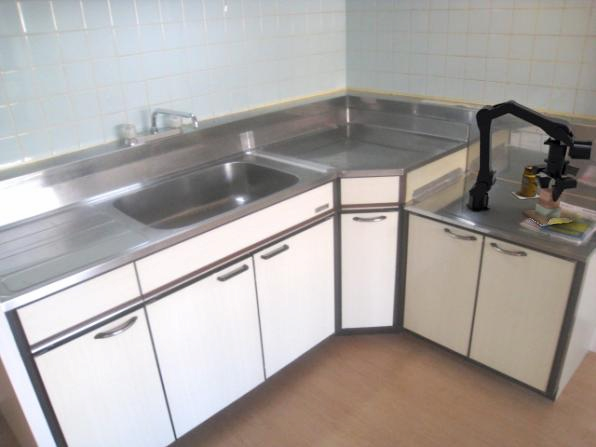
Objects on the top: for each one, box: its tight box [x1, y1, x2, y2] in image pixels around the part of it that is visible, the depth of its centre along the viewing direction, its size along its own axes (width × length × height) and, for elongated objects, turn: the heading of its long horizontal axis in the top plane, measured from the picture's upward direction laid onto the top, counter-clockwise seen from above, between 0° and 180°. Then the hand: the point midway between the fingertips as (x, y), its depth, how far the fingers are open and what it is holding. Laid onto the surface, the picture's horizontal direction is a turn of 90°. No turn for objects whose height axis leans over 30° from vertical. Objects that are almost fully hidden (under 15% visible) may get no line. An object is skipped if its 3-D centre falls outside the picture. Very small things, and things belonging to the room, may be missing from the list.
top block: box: [537, 186, 562, 209], centre depth 181 cm, size 5×5×6 cm
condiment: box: [511, 164, 540, 200], centre depth 202 cm, size 7×8×12 cm
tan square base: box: [522, 202, 573, 225], centre depth 183 cm, size 12×12×5 cm
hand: (549, 198), depth 181 cm, fingers open, 6 cm apart
